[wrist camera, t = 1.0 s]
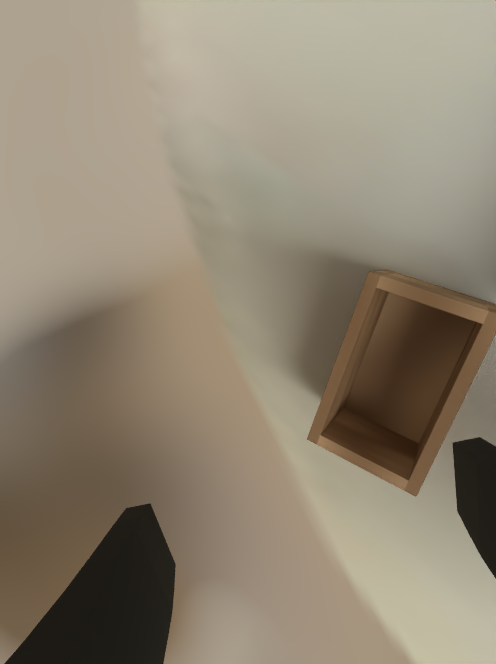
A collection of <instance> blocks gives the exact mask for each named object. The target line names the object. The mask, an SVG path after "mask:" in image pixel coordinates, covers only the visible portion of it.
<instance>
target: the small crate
mask: <svg viewBox="0 0 496 664" xmlns="http://www.w3.org/2000/svg"><path fill="white" fill-rule="evenodd" d="M495 334H496V305H495V304H492V303H489V302H485V301H482V300H479V299H476V298H473V297H470V296H467V295H464V294H460V293H457V292H454V291H451V290H448V289H445V288H442V287H439V286H436V285H432V284H429V283H426V282H423V281H420V280H417V279H414V278H411V277H407V276H404V275H401V274H398V273H395V272H392V271H389V270H382V271H371V272H368V275H367V278H366V280H365V283H364V286H363V288H362V291H361V294H360V297H359V299H358V302H357V305H356V307H355V310H354V313H353V316H352V318H351V321H350V324H349V326H348V329H347V332H346V335H345V337H344V340H343V343H342V345H341V348H340V351H339V354H338V356H337V359H336V362H335V364H334V367H333V370H332V372H331V375H330V378H329V381H328V383H327V386H326V389H325V391H324V394H323V397H322V400H321V402H320V405H319V408H318V410H317V413H316V416H315V419H314V421H313V424H312V427H311V429H310V432H309V435H308V438H307V440H309V441H311V442H313V443H315V444H317V445H319V446H321V447H323V448H325V449H326V450H328V451H330V452H332V453H334V454H336V455H338V456H340V457H342V458H343V459H345V460H347V461H349V462H351V463H353V464H355V465H357V466H359V467H361V468H362V469H364V470H366V471H368V472H370V473H372V474H374V475H376V476H378V477H380V478H381V479H383V480H385V481H387V482H389V483H391V484H393V485H395V486H397V487H399V488H400V489H402V490H404V491H406V492H408V493H410V494H412V495H414V496H417V494H418V492H419V490H420V488H421V486H422V484H423V482H424V480H425V478H426V476H427V473H428V471H429V469H430V467H431V465H432V463H433V461H434V459H435V457H436V455H437V453H438V451H439V449H440V447H441V445H442V443H443V441H444V439H445V437H446V435H447V432H448V430H449V428H450V426H451V424H452V422H453V420H454V418H455V416H456V414H457V412H458V410H459V408H460V406H461V404H462V402H463V400H464V398H465V396H466V394H467V391H468V389H469V387H470V385H471V383H472V381H473V379H474V377H475V375H476V373H477V371H478V369H479V367H480V365H481V363H482V361H483V359H484V357H485V355H486V353H487V350H488V348H489V346H490V344H491V342H492V340H493V338H494V336H495Z"/></svg>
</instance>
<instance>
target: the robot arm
mask: <svg viewBox="0 0 496 664" xmlns="http://www.w3.org/2000/svg"><path fill="white" fill-rule="evenodd" d="M453 455H454V469H455V483H456V497H457V511H458V513H459V515H460V517H461V519H462V521H463V523H464V525H465V527H466V529H467V531H468V533H469V535H470V537H471V538H472V540H473V542H474V544H475V546H476V548H477V550H478V552H479V553H480V555H481V557H482V558H483V560H484V561H485V563H486V565H487V566H488V568H489V569H490V571H491V572H492V574H493V575H494V577H495V578H496V446H494V445H492V444H491V443H489V442H487V441H485V440H484V439H482V438H480V437H479V438H474V439H469V440H464V441H459V442H454V443H453ZM174 582H175V562H174V560H173V557H172V555H171V552H170V550H169V548H168V545H167V543H166V540H165V538H164V536H163V533H162V531H161V528H160V526H159V523H158V521H157V519H156V516H155V514H154V511H153V509H152V507H151V504H145V505H140V506H135V507H130V508H126V510H125V511H124V512H123V513H122V514H121V516H120V517H119V518H118V520H117V521H116V523H115V524H114V525H113V526H112V528H111V529H110V531H109V532H108V533H107V535H106V536H105V537H104V539H103V540H102V542H101V543H100V544H99V546H98V547H97V548H96V550H95V551H94V552H93V554H92V555H91V556H90V558H89V559H88V560H87V562H86V563H85V565H84V566H83V567H82V568H81V570H80V571H79V573H78V574H77V575H76V576H75V578H74V579H73V580H72V582H71V583H70V585H69V586H68V587H67V588H66V590H65V591H64V592H63V594H62V595H61V596H60V597H59V599H58V600H57V601H56V602H55V604H54V605H53V606H52V607H51V608H50V610H49V611H48V612H47V613H46V615H45V616H44V617H43V618H42V620H41V621H40V622H39V623H38V624H37V626H36V627H35V628H34V629H33V631H32V632H31V633H30V635H29V636H28V637H27V638H26V640H25V641H24V642H23V643H22V644H21V645H20V646H19V648H18V649H17V650H16V651H15V652H14V653H13V655H12V656H11V657H10V658H9V659H8V660H7V661H6V663H5V664H163V662H164V656H165V651H166V645H167V640H168V634H169V628H170V622H171V616H172V608H173V596H174Z"/></svg>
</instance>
